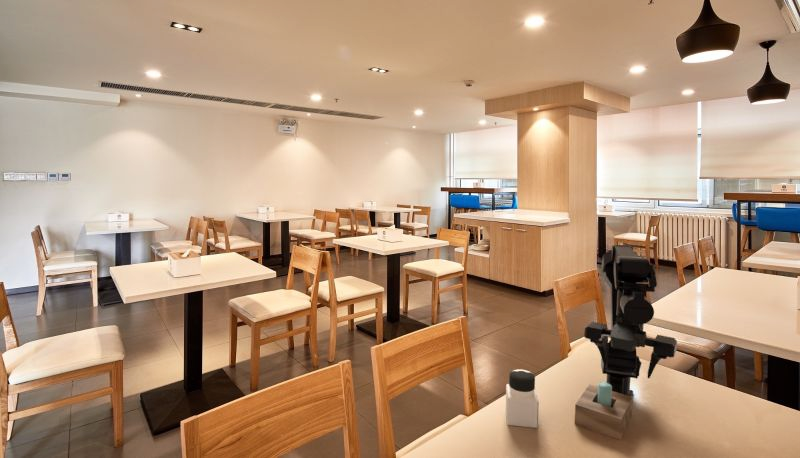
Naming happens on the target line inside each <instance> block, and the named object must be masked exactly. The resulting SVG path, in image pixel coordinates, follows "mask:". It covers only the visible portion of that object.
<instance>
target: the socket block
mask: <svg viewBox="0 0 800 458" xmlns="http://www.w3.org/2000/svg"><path fill="white" fill-rule="evenodd" d="M597 400H598V385H597V386H596V385H593V384H590V383H589V384H588V386H587V387H586V388H585V390H584V391H583V393H582V394H581V396H580V397H579V399H578V400H577V401H576V403H575V406H574V424H575V425H578V426H581V427H584V428H586V429H590V430H592V431H594V432H596V433H600V434H603V435H605V436H608V437H611V438H614V439H617V440H620V441H621V440H622V437H623V434H624V433H625V430H626V428H627V426H628V425H629V421H630V419H631V417H632V411H633V410H632V409H633V408H632V407H633V396H628V395H624V394H621V393H617V392H614V391H612V397H611V407H608V406H605V405H601V404H598V403H597Z"/></svg>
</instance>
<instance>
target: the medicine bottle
mask: <svg viewBox="0 0 800 458" xmlns="http://www.w3.org/2000/svg"><path fill="white" fill-rule="evenodd" d="M508 378H509V382H508V383H507V384H506V385H505V413H506V424H507V425H508V426H514V427H523V428H532V429H533V428H534V429H537V428H539V402H540V401H539V398H538V394H537V390H536V387H535V385H536V377H535V375H534V373H532V372H531V371H528V370H526V369H514V370H512V371H510V372H509V377H508Z"/></svg>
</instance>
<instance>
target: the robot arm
mask: <svg viewBox="0 0 800 458" xmlns="http://www.w3.org/2000/svg"><path fill="white" fill-rule="evenodd" d="M601 273H603V279H604V282H605V283H606V284H607V286H608V287H609V288H610V289H609V291H610V294H609V295H610V297H609V298H610V329H608V324H606V323H602V322H601V323H600V322H598V321H591V322H589V323H588V325H587V326H585V328H584V335H583V337H584V338H585V339H587V340H589V342H591V344H592V343H593V344H594V345H595V346H596V348H597V349H598V351H599V354H600V358H601V360H600V361H601V362H600V367H601V372H602V373H601V374H603V375H606V382H605V383H608V384H610V385H611V386H612V391H614V392H617V393H621V394H624V395H628V396H631V397H633V394H634V391H633V390H632V389H631V378H632V379H635V380H637V379H638V378H639V377H640V370H641V367H642V361H641V360H640V357H639V356H638V355H637V348H640V347H641V348H645V347H646V346H647V347H650V348H652V352H651V355H650V361H649V364H648V368H647V369H648V370H647V379H650V378H651V377H652V374H653V372H654V370H655V368H656V366H657V364H658V363H659V362H660V360H662V359H663V360H666V359H668V358H674V357H675V355H676V352H677V346H678V341H677V339H676V338H675V337H671V336H665V335H661V334H657V335H656V336H655V337H654V338H652V337H648V336H647V331H644V325H645V324H647V323H649V322H651V320H652V319H653V318H654V315H655V309H654V306H653V305H652V304H651V303H652V302H650V300H649V299H648V296H647V293H648V292H650V293H655V292H656V290H655V288H657V285H658V283H657V277H656V276H657V274H656V269H655V267H654V265H653V263H650V260H649V258H647V257H643V256H638V255H637V254H636V253H635V251H634V246H632V245H629V244H613V245H611V249H610V250H609V251H607V252H605V253H604V254H603V255H602V260H601ZM609 339H610V340H609Z"/></svg>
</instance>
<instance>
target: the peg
mask: <svg viewBox="0 0 800 458" xmlns="http://www.w3.org/2000/svg"><path fill="white" fill-rule="evenodd" d="M597 384H598V385H597V387H598V400H597V403H598V404H601V405H605V406H608V407H611V397H612V386H611V385H610V384H608V383H606V382H604V381H603V382H599V383H597Z"/></svg>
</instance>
